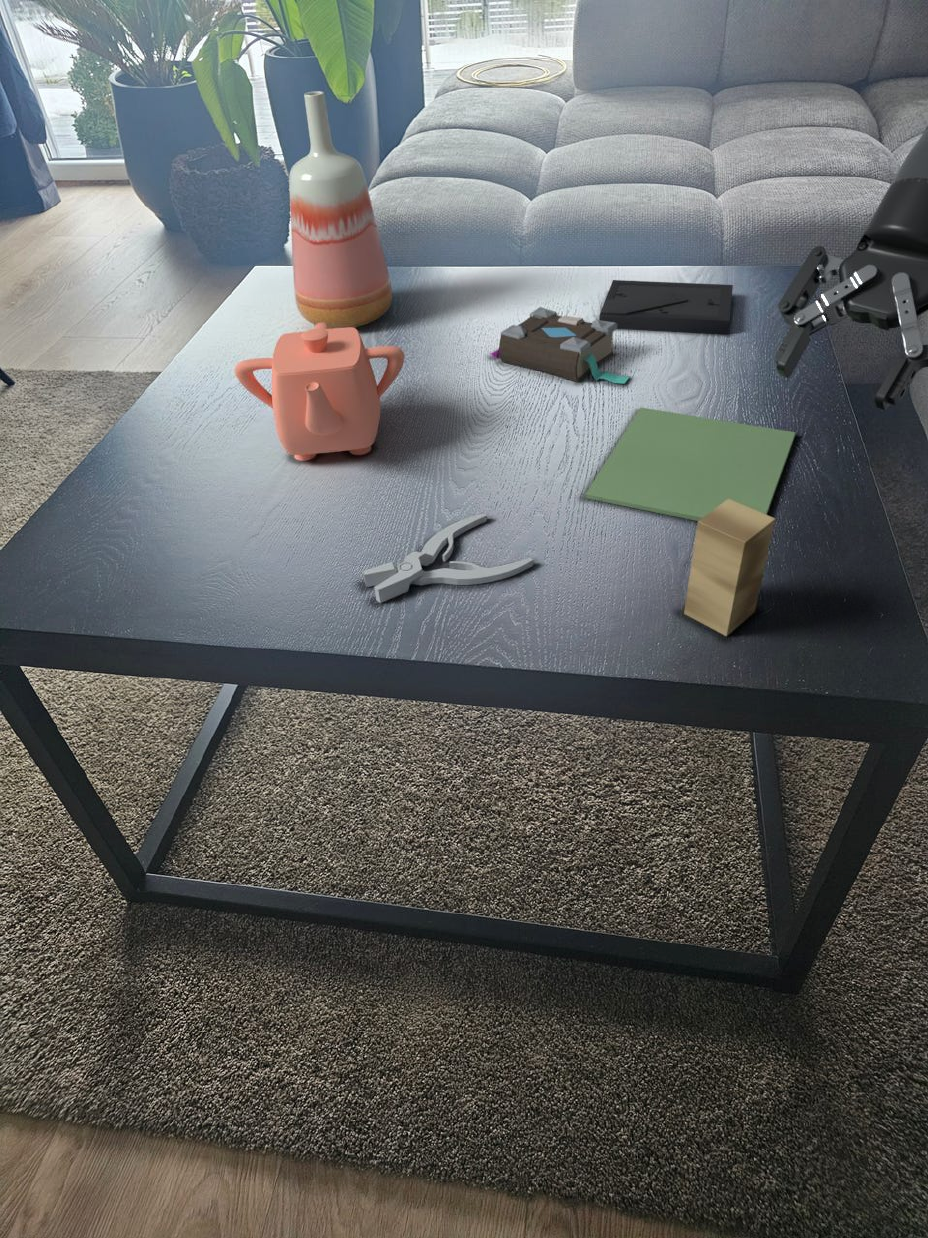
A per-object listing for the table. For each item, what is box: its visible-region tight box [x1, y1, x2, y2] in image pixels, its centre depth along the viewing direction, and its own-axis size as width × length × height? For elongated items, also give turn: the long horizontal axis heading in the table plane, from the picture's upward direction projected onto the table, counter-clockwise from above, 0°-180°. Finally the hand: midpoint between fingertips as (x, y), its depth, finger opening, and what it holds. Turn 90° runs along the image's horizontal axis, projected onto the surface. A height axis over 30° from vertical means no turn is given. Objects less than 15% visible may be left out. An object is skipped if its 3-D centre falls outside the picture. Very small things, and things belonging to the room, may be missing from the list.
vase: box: [288, 90, 393, 329], centre depth 121 cm, size 14×14×30 cm
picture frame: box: [598, 279, 734, 335], centre depth 124 cm, size 13×2×18 cm
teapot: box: [234, 323, 405, 462], centre depth 98 cm, size 17×16×13 cm
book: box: [490, 306, 630, 384], centre depth 114 cm, size 20×12×5 cm, turn 54°
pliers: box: [363, 512, 534, 604], centre depth 82 cm, size 10×2×15 cm
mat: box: [584, 407, 797, 522], centre depth 93 cm, size 18×20×1 cm
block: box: [683, 499, 776, 637], centre depth 72 cm, size 4×4×10 cm
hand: (829, 388), depth 70 cm, fingers open, 8 cm apart
